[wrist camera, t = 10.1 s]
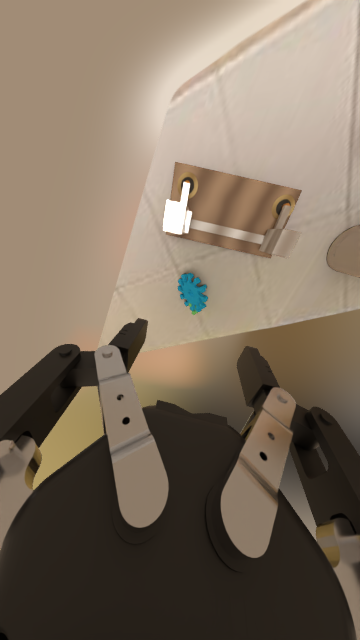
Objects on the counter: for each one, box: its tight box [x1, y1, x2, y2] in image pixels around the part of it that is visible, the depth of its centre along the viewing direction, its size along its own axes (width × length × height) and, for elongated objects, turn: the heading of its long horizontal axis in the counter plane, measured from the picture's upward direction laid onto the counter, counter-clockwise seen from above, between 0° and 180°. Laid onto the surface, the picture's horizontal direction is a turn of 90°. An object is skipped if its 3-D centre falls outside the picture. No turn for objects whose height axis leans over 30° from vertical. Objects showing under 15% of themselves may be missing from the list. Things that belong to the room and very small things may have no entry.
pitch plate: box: [166, 162, 302, 258], centre depth 29 cm, size 24×12×10 cm, turn 79°
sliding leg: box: [163, 180, 192, 234], centre depth 27 cm, size 4×8×10 cm, turn 169°
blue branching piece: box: [178, 273, 208, 315], centre depth 40 cm, size 11×6×10 cm
